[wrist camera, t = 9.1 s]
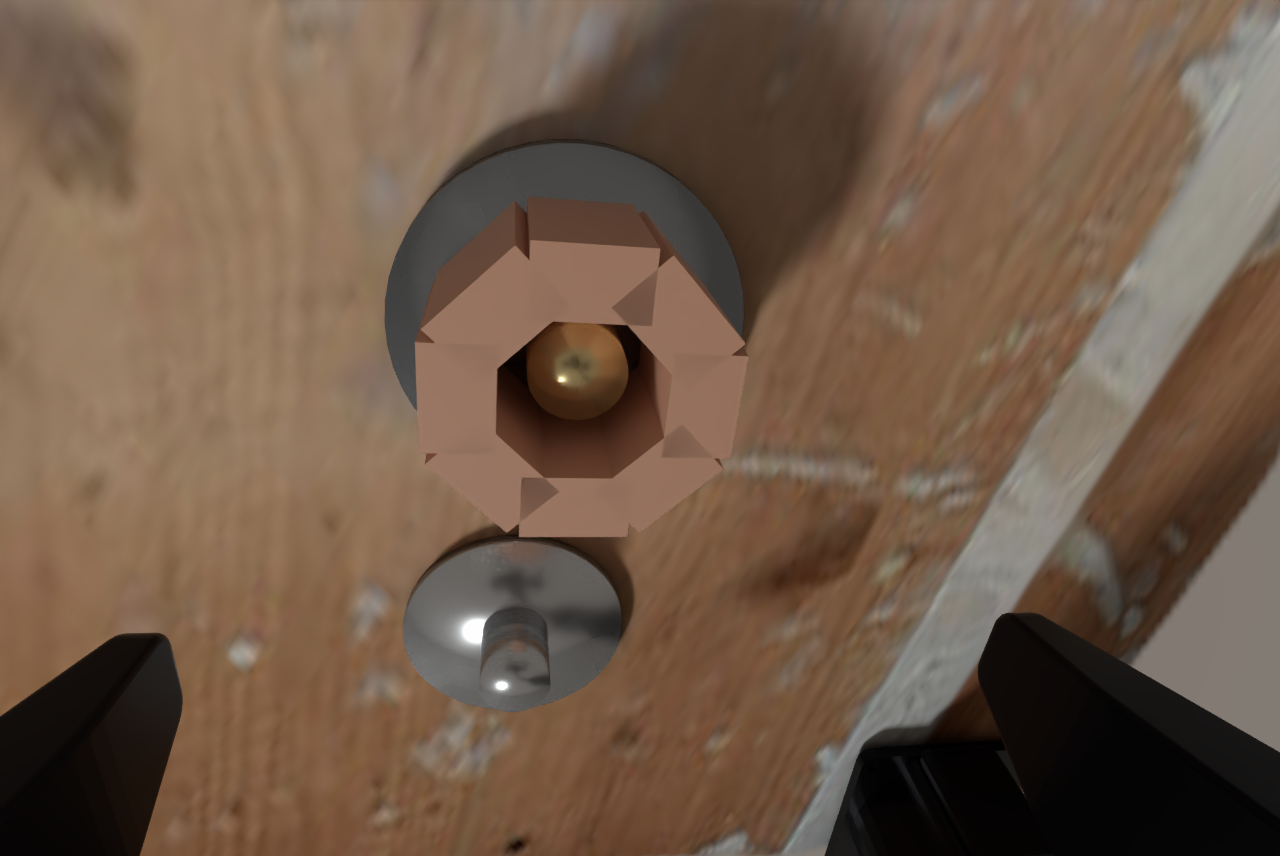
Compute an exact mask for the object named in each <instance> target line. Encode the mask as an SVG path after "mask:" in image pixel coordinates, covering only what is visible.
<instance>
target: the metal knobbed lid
mask: <svg viewBox="0 0 1280 856" xmlns="http://www.w3.org/2000/svg"><path fill="white" fill-rule="evenodd" d="M621 631H622V614H621V608H620V602H619V597H618V594H617V591H616V588H615V586H614V584H613V582H612V581H611V579H610V577H609V576H608V575H607V573H606V572H605V571H604V569H603V568H602V567H601V566H600V565H599V564H598V563H597V562H596V561H595V560H593V559H592V558H591V557H589V556H588V555H587V554H585V553H583V552H582V551H580V550H578V549H576V548H575V547H572V546H570V545H568V544H565V543H563V542H560V541H556V540H553V539H549V538H544V537H519V535H507V536H498V537H492V538H487V539H483V540H479V541H476V542H473V543H470V544H468V545H465V546H463V547H460V548H458V549H456V550H454V551H453V552H451V553H449V554H447V555H446V556H444V557H443V558H441V559H440V560H439V561H437V562H436V563H435V564H434V565H433V566H431V567H430V568H429V569H428V570H427V571H426V572H425V573H424V575H423V576H422V577H421V578H420V579H419V581H418V582H417V584H416V586H415V587H414V589H413V591H412V593H411V595H410V598H409V600H408V603H407V607H406V612H405V617H404V623H403V638H404V645H405V648H406V651H407V654H408V657H409V659H410V661H411V663H412V664H413V666H414V667H415V669H416V670H417V671H418V673H419V674H420V675H421V676H422V677H423V678H424V679H425V680H426V681H427V682H428V683H429V684H430V685H432V686H433V687H434V688H436V689H437V690H438V691H440V692H442V693H443V694H445V695H447V696H449V697H451V698H453V699H456V700H458V701H460V702H464V703H467V704H470V705H474V706H479V707H484V708H492V709H498V710H501V711H506V712H518V711H524V710H527V709H530V708H532V707H535V706H540V705H544V704H547V703H551V702H554V701H556V700H559V699H561V698H564V697H566V696H568V695H570V694H572V693H574V692H576V691H577V690H579V689H581V688H582V687H584V686H585V685H587V684H588V683H589V682H590V681H592V680H593V679H594V678H595V677H596V676H597V675H598V674H599V673H600V672H601V671H602V670H603V669H604V668H605V666H606V665H607V664H608V662H609V661H610V660H611V658H612V656H613V654H614V653H615V651H616V648H617V646H618V643H619V640H620V636H621Z"/></svg>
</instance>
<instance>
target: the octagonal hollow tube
mask: <svg viewBox="0 0 1280 856" xmlns="http://www.w3.org/2000/svg"><path fill="white" fill-rule="evenodd" d="M552 321H554V322H574V323H595V324H616V325H628V326H629V327H630V329H631V330H632V331H633V332H634V333H635V334H636V335H637V336H638V337H639V339H640V340H641V349H640V358H639V366H638V367H637V368H635V369H634V370H633V371H632V372H630V373H629V374H628V381H627V385H626V388H625V390H624V392H623V394H622V396H621V397H620V399H619V400H618V401H617V402H616V404H615V405H613V406H612V407H611V408H610V409H609V410H607V411H606V412H604V413H602V414H600V415H598V416H596V417H593V418H589V419H583V420H569V419H564V418H560V417H557V416H555V415H553V414H551V413H549V412H548V411H546V410H545V409H543V408H542V407H541V406H540V405H539V404H538V403H537V402H536V400H535V399H534V397H533V396H532V394H531V392H530V390H529V389H528V388H527V387H526V386H525V385H524V384H523V383H522V382H521V381H520V380H519V379H518V378H517V377H516V376H515V375H513V374H512V373H511V372H510V371H509V370H508V369H507V368H506V367H505V366H504V365H503V363H504V362H506V361H507V360H508V359H509V358H510V357H511V356H513V355H514V354H515V353H516V352H517V351H518V350H520V349H521V348H522V347H523V346H524V345H525V344H527V343H528V342H529V341H530V340H531V339H533V338H534V337H535V336H536V335H537V334H538V333H540V332H541V331H542V330H543V329H544V328H545V327H547V326H548V325H549V324H550V323H551V322H552ZM745 344H746V343H745V342H744V341H743V339H742V338H741V336H740V335H739V333H738V332H737V331H736V329H735V328H734V326H733V325H732V323H731V322H730V321H729V319H728V318H727V316H726V315H725V314H724V312H723V311H722V309H721V308H720V306H719V305H718V304H717V302H716V301H715V299H714V298H713V296H712V295H711V294H710V292H709V291H708V289H707V288H706V286H705V285H704V284H703V283H702V281H701V280H700V279H699V278H698V277H697V275H696V274H695V273H694V272H693V270H692V269H691V268H690V267H689V265H688V264H687V263H686V262H685V260H684V259H683V258H682V257H681V256H680V254H679V253H678V252H677V251H676V249H675V248H674V247H673V246H672V244H671V243H670V242H669V241H668V239H667V238H666V237H665V236H664V235H663V233H662V232H661V231H660V230H659V228H658V227H657V226H656V225H655V223H654V222H653V221H652V220H651V218H650V217H649V216H648V215H647V214H646V212H645V211H644V210H643V211H642V212H641V213H640V214H639V213H638V212H637V210H636V209H635V207H634V205H633V204H621V203H607V202H594V201H581V200H568V199H555V198H541V197H528V196H527V212H525V211H524V210H523V209H522V208H521V207H520V206H519V205H518V203H517V202H516V201H514V202H513V203H512V204H511V205H509V206H508V207H507V208H506V209H505V210H504V211H503V212H502V213H501V214H500V215H498V216H497V217H496V218H495V219H494V220H493V221H492V222H491V223H490V224H488V225H487V226H486V227H485V228H484V229H483V230H482V231H481V232H480V233H479V234H477V235H476V236H475V237H474V238H473V239H472V240H471V241H470V242H469V243H467V244H466V245H465V246H464V247H463V248H462V249H461V250H460V251H459V252H458V253H456V254H455V255H454V256H453V257H452V258H451V259H450V260H449V261H448V262H447V263H445V264H444V265H443V266H442V267H441V268H440V269H439V270H438V272H437V275H436V279H435V281H433V284H432V287H431V291H430V294H429V297H428V301H427V304H426V307H425V310H424V314H423V317H422V320H421V324H420V327H419V330H418V334H417V337H416V340H415V360H416V390H417V421H418V451H419V453H427V455H426V460H425V465H426V466H427V467H428V468H429V469H430V470H432V471H433V472H434V473H435V474H437V475H438V476H439V477H440V478H441V479H443V480H444V481H445V482H446V483H447V484H449V485H450V486H451V487H452V488H453V489H455V490H456V491H457V492H458V493H459V494H461V495H462V496H463V497H464V498H465V499H467V500H468V501H469V502H470V503H471V504H473V505H474V506H475V507H476V508H478V509H479V510H480V511H481V512H482V513H484V514H485V515H486V516H487V517H488V518H490V519H491V520H492V521H493V522H494V523H496V524H497V525H498V526H499V527H500V528H502V529H503V530H504V531H505V532H506V533H507V532H509V531H510V530H511V529H512V528H514V527H515V526H516V525H518V524H519V537H627V534H628V525H629V524H630V525H631V526H632V527H633V528H634V529H636V530H637V531H638V532H639V533H640V532H641V531H643V530H644V529H645V528H646V527H648V526H649V525H650V524H652V523H653V522H654V521H656V520H657V519H658V518H660V517H661V516H662V515H664V514H665V513H666V512H668V511H669V510H670V509H672V508H673V507H674V506H676V505H677V504H678V503H680V502H681V501H682V500H684V499H685V498H686V497H688V496H689V495H690V494H691V493H693V492H694V491H695V490H697V489H698V488H699V487H701V486H702V485H703V484H705V483H706V482H707V481H709V480H710V479H711V478H713V477H714V476H715V475H717V474H718V473H719V472H721V471H722V470H723V467H722V464H721V462H720V460H719V459H731V453H732V448H733V442H734V436H735V431H736V425H737V420H738V414H739V409H740V403H741V398H742V392H743V387H744V381H745V375H746V370H747V364H748V359H749V356H748V354H747V353H746V351H745V350H744V348H743V346H744V345H745Z"/></svg>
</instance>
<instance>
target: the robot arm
mask: <svg viewBox="0 0 1280 856" xmlns="http://www.w3.org/2000/svg"><path fill="white" fill-rule="evenodd" d="M978 679H979V683H980V686H981V689H982V692H983V694H984V697H985V699H986V701H987V704H988V706H989V709H990V711H991V714H992V716H993V719H994V721H995V723H996V726H997V728H998V731H999V733H1000V736H1001V738H1002V741H988V742H970V743H951V744H932V745H914V746H895V747H876V748H869V749H867V750H864V751H863V752H862V753H860V754H859V756H858V757H857V759H856V762H855V765H854V768H853V771H852V774H851V777H850V780H849V784H848V787H847V790H846V793H845V796H844V799H843V802H842V805H841V808H840V811H839V814H838V817H837V820H836V823H835V826H834V829H833V832H832V835H831V838H830V841H829V844H828V847H827V850H826V853H825V856H1280V752H1278V751H1276V750H1275V749H1273V748H1271V747H1269V746H1268V745H1266V744H1264V743H1263V742H1261V741H1259V740H1257V739H1256V738H1254V737H1252V736H1250V735H1249V734H1247V733H1245V732H1244V731H1242V730H1240V729H1238V728H1237V727H1235V726H1233V725H1231V724H1230V723H1228V722H1226V721H1224V720H1223V719H1221V718H1219V717H1218V716H1216V715H1214V714H1212V713H1211V712H1209V711H1207V710H1205V709H1204V708H1202V707H1200V706H1198V705H1197V704H1195V703H1193V702H1191V701H1190V700H1188V699H1186V698H1184V697H1183V696H1181V695H1179V694H1178V693H1176V692H1174V691H1172V690H1171V689H1169V688H1167V687H1165V686H1164V685H1162V684H1160V683H1158V682H1157V681H1155V680H1153V679H1152V678H1150V677H1148V676H1146V675H1145V674H1143V673H1141V672H1139V671H1138V670H1136V669H1134V668H1132V667H1131V666H1129V665H1127V664H1126V663H1124V662H1122V661H1120V660H1119V659H1117V658H1115V657H1113V656H1112V655H1110V654H1108V653H1106V652H1105V651H1103V650H1101V649H1099V648H1098V647H1096V646H1094V645H1093V644H1091V643H1089V642H1087V641H1086V640H1084V639H1082V638H1080V637H1079V636H1077V635H1075V634H1073V633H1072V632H1070V631H1068V630H1066V629H1065V628H1063V627H1061V626H1060V625H1058V624H1056V623H1054V622H1053V621H1051V620H1049V619H1047V618H1046V617H1044V616H1042V615H1040V614H1037V613H1032V612H1022V613H1005V614H1002V615H1001V616H1000V617H999V618H998V619H997V620H996V622H995V624H994V627H993V629H992V632H991V634H990V636H989V639H988V641H987V644H986V646H985V649H984V651H983V654H982V656H981V658H980V661H979V664H978ZM182 704H183V697H182V689H181V685H180V681H179V677H178V673H177V668H176V664H175V660H174V656H173V652H172V647H171V644H170V642H169V640H168V638H167V637H166V636H165V635H163V634H161V633H126V634H120V635H117V636H115V637H113V638H111V639H109V640H108V641H106V642H105V643H104V644H102V645H101V646H99V647H98V648H97V649H95V650H94V651H92V652H91V653H89V654H88V655H87V656H85V657H84V658H82V659H81V660H80V661H78V662H77V663H75V664H74V665H72V666H71V667H70V668H68V669H67V670H65V671H64V672H62V673H61V674H60V675H58V676H57V677H55V678H54V679H53V680H51V681H50V682H48V683H47V684H45V685H44V686H43V687H41V688H40V689H38V690H37V691H35V692H34V693H33V694H31V695H30V696H28V697H27V698H26V699H24V700H23V701H21V702H20V703H18V704H17V705H16V706H14V707H13V708H11V709H10V710H9V711H7V712H6V713H4V714H3V715H1V716H0V856H140V853H141V850H142V847H143V843H144V840H145V836H146V833H147V830H148V826H149V823H150V820H151V816H152V813H153V809H154V806H155V803H156V799H157V796H158V792H159V789H160V786H161V782H162V779H163V775H164V772H165V769H166V765H167V762H168V758H169V755H170V752H171V748H172V745H173V741H174V738H175V735H176V731H177V728H178V724H179V721H180V717H181V712H182ZM1020 785H1021V787H1022V790H1023V791H1022V790H1021V788H1020ZM1023 792H1024V793H1023Z"/></svg>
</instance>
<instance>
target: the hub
mask: <svg viewBox="0 0 1280 856" xmlns="http://www.w3.org/2000/svg"><path fill="white" fill-rule="evenodd" d="M527 196H528V197H541V198H555V199H568V200H581V201H594V202H607V203H621V204H633V205H634V207H635V209H636V210H637V212H638V213H639V214H640V213H641V212H642V211H643V210H644V211H645V212H646V214H647V215H648V216H649V217H650V218H651V220H652V221H653V222H654V223H655V225H656V226H657V227H658V228H659V230H660V231H661V232H662V233H663V235H664V236H665V237H666V238H667V239H668V241H669V242H670V243H671V244H672V246H673V247H674V248H675V249H676V251H677V252H678V253H679V254H680V256H681V257H682V258H683V259H684V260H685V262H686V263H687V264H688V265H689V267H690V268H691V269H692V270H693V272H694V273H695V274H696V275H697V277H698V278H699V279H700V280H701V281H702V283H703V284H704V285H705V286H706V288H707V289H708V291H709V292H710V294H711V295H712V296H713V298H714V299H715V301H716V302H717V304H718V305H719V306H720V308H721V309H722V311H723V312H724V314H725V315H726V316H727V318H728V319H729V321H730V322H731V323H732V325H733V326H734V328H735V329H736V331H737V332H738V333H739V335H740V336H741V338H742V332H743V322H744V301H743V291H742V285H741V279H740V274H739V270H738V267H737V264H736V261H735V258H734V255H733V252H732V250H731V248H730V246H729V243H728V241H727V239H726V237H725V235H724V233H723V231H722V230H721V228H720V227H719V225H718V224H717V222H716V221H715V219H714V218H713V216H712V215H711V213H710V212H709V211H708V210H707V208H706V207H705V206H704V205H703V204H702V203H701V202H700V201H699V199H698V198H697V197H696V196H695V195H694V194H693V193H692V192H691V191H690V190H689V189H688V188H687V187H686V186H684V185H683V184H682V183H681V182H680V181H679V180H677V179H676V178H675V177H674V176H673V175H672V174H670V173H669V172H667V171H666V170H664V169H662V168H661V167H659V166H658V165H656V164H655V163H653V162H651V161H650V160H647V159H645V158H643V157H641V156H639V155H637V154H634V153H632V152H630V151H628V150H624V149H621V148H618V147H614V146H611V145H608V144H604V143H598V142H591V141H585V140H567V139H553V140H545V141H536V142H529V143H525V144H521V145H517V146H514V147H510V148H506V149H503V150H501V151H499V152H496V153H494V154H491V155H489V156H487V157H484V158H482V159H480V160H478V161H477V162H475V163H473V164H472V165H470V166H468V167H467V168H465V169H463V170H462V171H460V172H459V173H458V174H456V175H455V176H454V177H453V178H451V179H450V180H449V181H448V182H447V183H445V184H444V185H443V186H442V187H440V189H439V190H438V191H437V192H436V193H435V194H434V195H433V196H432V197H431V198H430V199H429V200H428V202H427V203H426V204H425V205H424V206H423V208H422V209H421V210H420V212H419V213H418V215H417V216H416V218H415V219H414V221H413V222H412V224H411V225H410V227H409V229H408V231H407V233H406V235H405V237H404V239H403V241H402V243H401V246H400V248H399V250H398V252H397V254H396V257H395V260H394V263H393V266H392V269H391V272H390V275H389V280H388V286H387V292H386V298H385V329H386V337H387V345H388V349H389V353H390V356H391V360H392V364H393V367H394V370H395V372H396V375H397V377H398V379H399V382H400V384H401V386H402V388H403V390H404V392H405V393H406V395H407V397H408V398H409V400H410V402H411V403H412V405H413V407H414V408H415V409H416V411H417V390H416V360H415V340H416V337H417V334H418V330H419V327H420V324H421V320H422V317H423V314H424V310H425V307H426V304H427V301H428V297H429V294H430V291H431V287H432V284H433V281H435V279H436V275H437V272H438V270H439V269H440V268H441V267H442V266H443V265H444V264H445V263H447V262H448V261H449V260H450V259H451V258H452V257H453V256H454V255H455V254H456V253H458V252H459V251H460V250H461V249H462V248H463V247H464V246H465V245H466V244H467V243H469V242H470V241H471V240H472V239H473V238H474V237H475V236H476V235H477V234H479V233H480V232H481V231H482V230H483V229H484V228H485V227H486V226H487V225H488V224H490V223H491V222H492V221H493V220H494V219H495V218H496V217H497V216H498V215H500V214H501V213H502V212H503V211H504V210H505V209H506V208H507V207H508V206H509V205H511V204H512V203H513V202H514V201H516V202H517V203H518V205H519V206H520V207H521V208H522V209H523V210H524V211H525V212H527ZM640 349H641V340H640V339H639V337H638V336H637V335H636V334H635V333H634V332H633V331H632V330H631V329H630V327H629V326H628V325H616V324H595V323H574V322H554V321H552V322H551V323H550V324H549V325H548V326H547V327H545V328H544V329H543V330H542V331H541V332H540V333H538V334H537V335H536V336H535V337H534V338H533V339H531V340H530V341H529V342H528V343H527V344H525V345H524V346H523V347H522V348H521V349H520V350H518V351H517V352H516V353H515V354H514V355H513V356H511V357H510V358H509V359H508V360H507V361H506V362H504V363H503V365H504V366H505V367H506V368H507V369H508V370H509V371H510V372H511V373H512V374H513V375H515V376H516V377H517V378H518V379H519V380H520V381H521V382H522V383H523V384H524V385H525V386H526V387H527V388H528V389H529V390H530V392H531V394H532V396H533V397H534V399H535V400H536V402H537V403H538V404H539V405H540V406H541V407H542V408H543V409H545V410H546V411H548V412H549V413H551V414H553V415H555V416H557V417H560V418H564V419H569V420H583V419H589V418H593V417H596V416H598V415H600V414H602V413H604V412H606V411H607V410H609V409H610V408H611V407H612V406H613V405H615V404H616V402H617V401H618V400H619V399H620V397H621V396H622V394H623V392H624V390H625V388H626V385H627V381H628V374H629V373H630V372H632V371H633V370H634V369H635V368H637V367H638V366H639V358H640Z"/></svg>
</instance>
